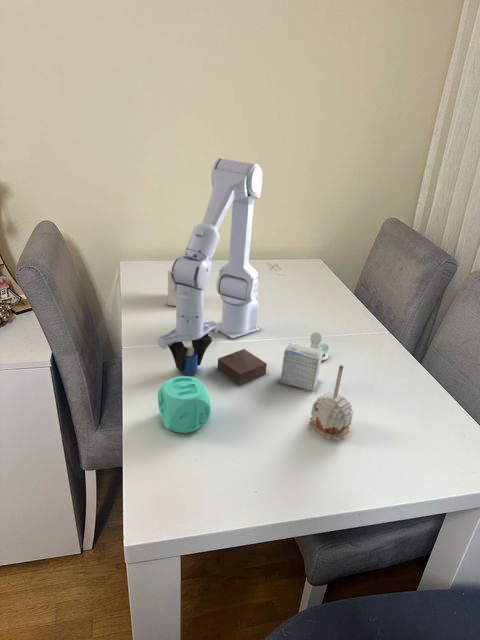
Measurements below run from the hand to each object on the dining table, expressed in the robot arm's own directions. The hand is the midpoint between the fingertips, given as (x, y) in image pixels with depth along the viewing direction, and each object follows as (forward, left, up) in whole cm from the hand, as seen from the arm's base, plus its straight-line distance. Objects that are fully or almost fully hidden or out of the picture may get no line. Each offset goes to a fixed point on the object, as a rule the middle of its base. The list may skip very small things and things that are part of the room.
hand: (188, 366), depth 111 cm
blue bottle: (0, 0, -1) cm, 1 cm away
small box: (-20, -32, -2) cm, 38 cm away
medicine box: (-18, +18, -2) cm, 26 cm away
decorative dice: (+11, +14, -2) cm, 18 cm away
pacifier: (-30, +12, -2) cm, 32 cm away
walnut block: (-10, +7, -1) cm, 12 cm away
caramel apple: (-11, +33, -2) cm, 35 cm away
